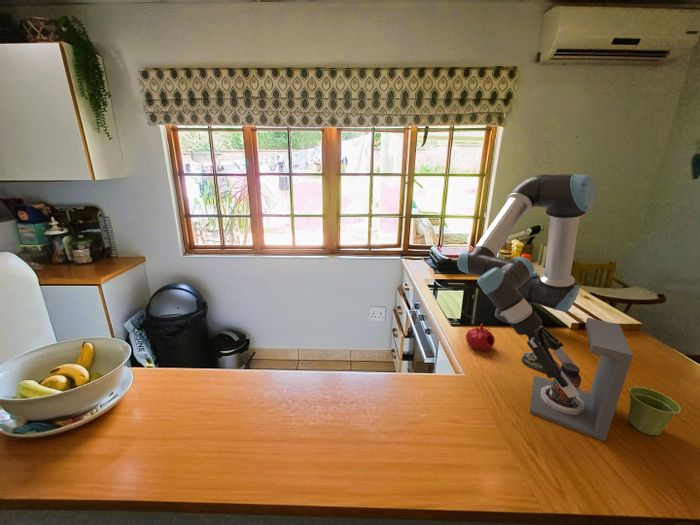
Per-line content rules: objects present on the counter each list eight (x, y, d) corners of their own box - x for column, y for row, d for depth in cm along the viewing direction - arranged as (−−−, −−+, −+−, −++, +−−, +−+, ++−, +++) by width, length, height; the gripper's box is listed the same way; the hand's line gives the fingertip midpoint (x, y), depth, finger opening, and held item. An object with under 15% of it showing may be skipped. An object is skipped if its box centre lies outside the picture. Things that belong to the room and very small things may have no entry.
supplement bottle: (546, 400, 85) (555, 366, 81) (550, 390, 89) (559, 357, 86) (572, 411, 81) (582, 376, 78) (575, 400, 85) (585, 366, 82)
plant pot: (621, 407, 84) (630, 381, 82) (669, 427, 78) (680, 399, 75) (618, 425, 78) (627, 398, 75) (669, 449, 71) (681, 419, 69)
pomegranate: (464, 350, 111) (467, 328, 108) (465, 337, 120) (468, 316, 117) (493, 356, 107) (497, 333, 104) (492, 342, 116) (496, 321, 113)
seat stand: (534, 378, 96) (549, 309, 89) (597, 398, 87) (619, 324, 81) (529, 412, 81) (547, 333, 75) (605, 441, 73) (632, 355, 66)
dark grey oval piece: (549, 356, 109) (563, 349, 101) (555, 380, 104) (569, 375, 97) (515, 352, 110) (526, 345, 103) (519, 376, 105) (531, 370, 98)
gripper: (514, 308, 98) (559, 363, 94) (503, 340, 78) (559, 413, 74) (536, 296, 94) (584, 354, 90) (530, 328, 74) (592, 404, 70)
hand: (573, 381), depth 82 cm, fingers open, 13 cm apart
